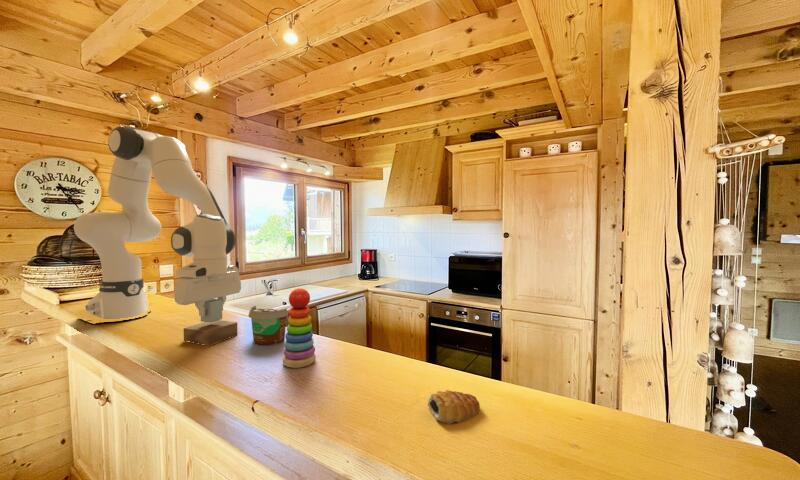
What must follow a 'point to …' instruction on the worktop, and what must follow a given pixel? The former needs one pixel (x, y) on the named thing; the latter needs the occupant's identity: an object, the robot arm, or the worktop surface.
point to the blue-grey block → (212, 310)
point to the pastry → (453, 406)
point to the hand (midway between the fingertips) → (211, 313)
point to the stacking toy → (299, 332)
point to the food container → (268, 325)
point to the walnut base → (210, 332)
